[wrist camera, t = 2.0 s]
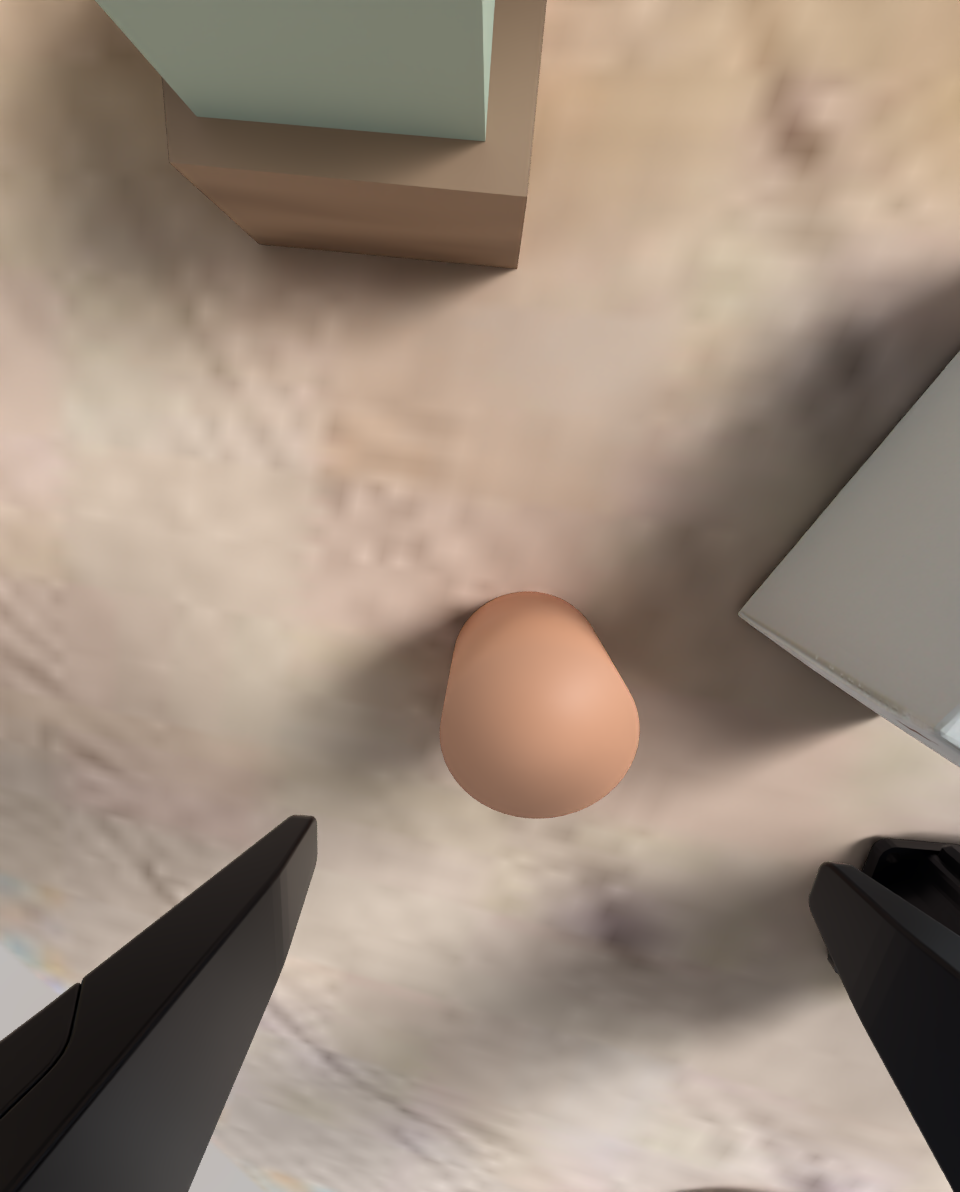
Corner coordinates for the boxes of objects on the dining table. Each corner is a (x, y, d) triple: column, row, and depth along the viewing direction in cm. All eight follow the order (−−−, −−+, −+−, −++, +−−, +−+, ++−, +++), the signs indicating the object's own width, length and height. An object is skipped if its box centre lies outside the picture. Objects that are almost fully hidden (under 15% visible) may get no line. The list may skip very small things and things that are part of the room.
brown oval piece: (587, 731, 17) (621, 826, 13) (448, 719, 17) (434, 810, 13) (611, 598, 15) (657, 654, 11) (458, 584, 15) (446, 635, 11)
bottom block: (516, 272, 13) (527, 196, 9) (263, 248, 13) (169, 162, 9) (549, -73, 11) (581, -354, 7) (250, -103, 11) (121, -401, 7)
